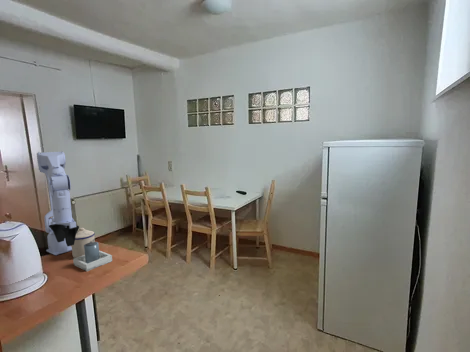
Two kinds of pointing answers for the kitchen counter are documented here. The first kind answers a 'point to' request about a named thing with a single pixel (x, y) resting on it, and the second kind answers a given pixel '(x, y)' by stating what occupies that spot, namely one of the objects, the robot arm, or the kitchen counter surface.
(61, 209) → the robot arm
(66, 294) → the kitchen counter surface
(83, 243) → the teacup with lid
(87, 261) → the tumbler
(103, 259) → the tray
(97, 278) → the kitchen counter surface
